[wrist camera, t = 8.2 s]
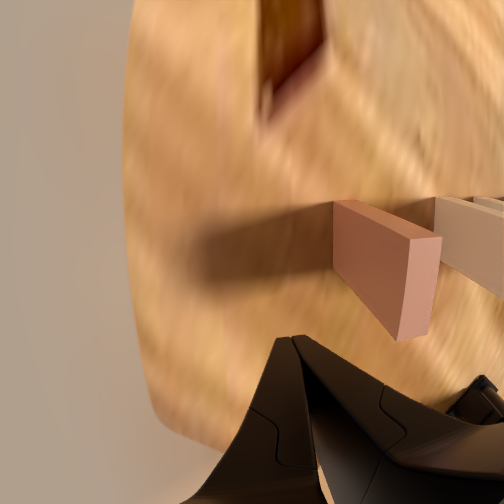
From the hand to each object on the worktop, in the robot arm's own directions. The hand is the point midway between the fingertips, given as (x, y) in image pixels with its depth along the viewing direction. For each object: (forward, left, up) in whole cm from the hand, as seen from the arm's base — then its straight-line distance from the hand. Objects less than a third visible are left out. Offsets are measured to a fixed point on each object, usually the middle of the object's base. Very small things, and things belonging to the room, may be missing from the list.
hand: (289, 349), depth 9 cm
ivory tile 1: (-10, -9, -11) cm, 18 cm away
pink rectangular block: (-4, -4, -11) cm, 13 cm away
